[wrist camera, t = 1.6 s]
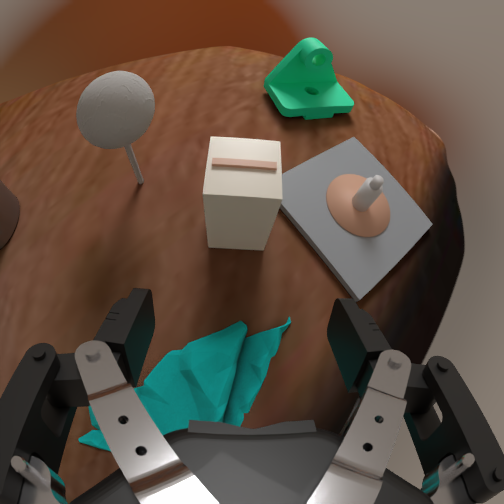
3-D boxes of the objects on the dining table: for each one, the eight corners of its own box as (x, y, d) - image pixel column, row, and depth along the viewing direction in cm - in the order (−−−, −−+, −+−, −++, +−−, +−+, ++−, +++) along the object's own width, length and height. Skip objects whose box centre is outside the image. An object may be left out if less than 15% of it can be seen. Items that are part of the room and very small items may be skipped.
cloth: (100, 482, 19) (92, 489, 17) (53, 367, 23) (41, 367, 21) (331, 412, 24) (339, 415, 22) (279, 291, 29) (283, 286, 26)
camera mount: (281, 123, 36) (297, 63, 27) (262, 91, 39) (272, 36, 29) (351, 117, 39) (375, 67, 29) (328, 88, 41) (345, 40, 32)
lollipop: (119, 160, 32) (83, 64, 18) (173, 156, 32) (156, 51, 19) (108, 209, 29) (52, 115, 15) (167, 206, 30) (137, 99, 16)
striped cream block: (208, 247, 29) (202, 191, 19) (212, 199, 31) (210, 134, 21) (263, 250, 29) (283, 196, 20) (263, 203, 31) (280, 139, 22)
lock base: (263, 189, 32) (271, 154, 26) (351, 141, 36) (367, 111, 31) (355, 301, 28) (385, 287, 22) (428, 227, 33) (455, 205, 27)
